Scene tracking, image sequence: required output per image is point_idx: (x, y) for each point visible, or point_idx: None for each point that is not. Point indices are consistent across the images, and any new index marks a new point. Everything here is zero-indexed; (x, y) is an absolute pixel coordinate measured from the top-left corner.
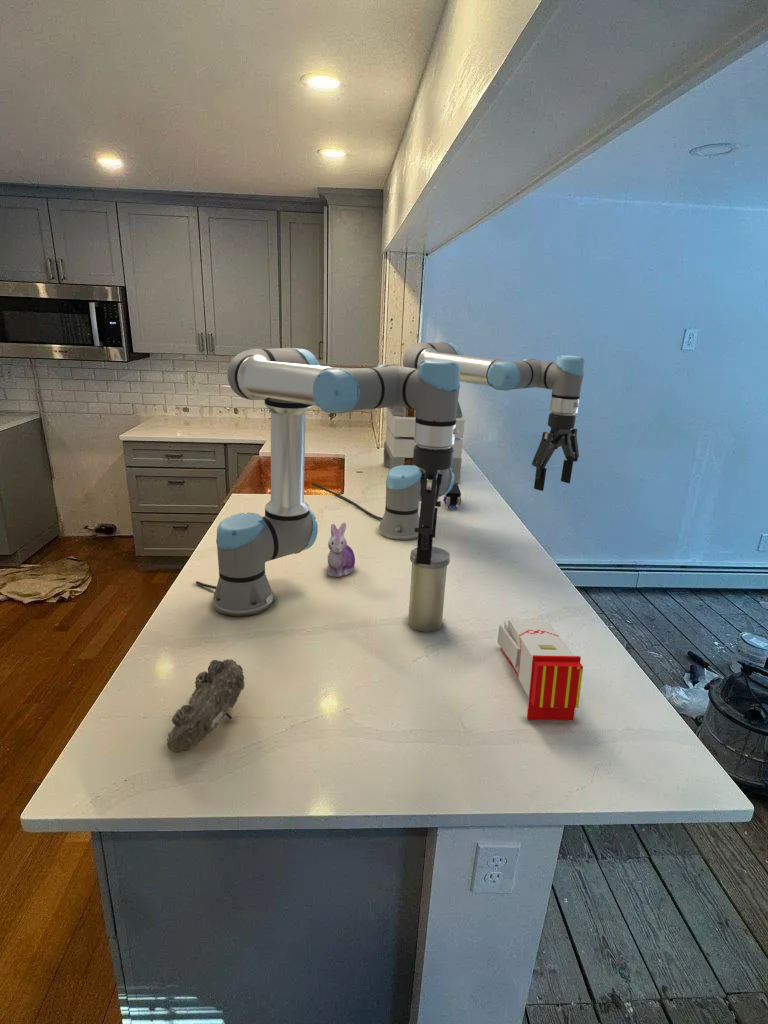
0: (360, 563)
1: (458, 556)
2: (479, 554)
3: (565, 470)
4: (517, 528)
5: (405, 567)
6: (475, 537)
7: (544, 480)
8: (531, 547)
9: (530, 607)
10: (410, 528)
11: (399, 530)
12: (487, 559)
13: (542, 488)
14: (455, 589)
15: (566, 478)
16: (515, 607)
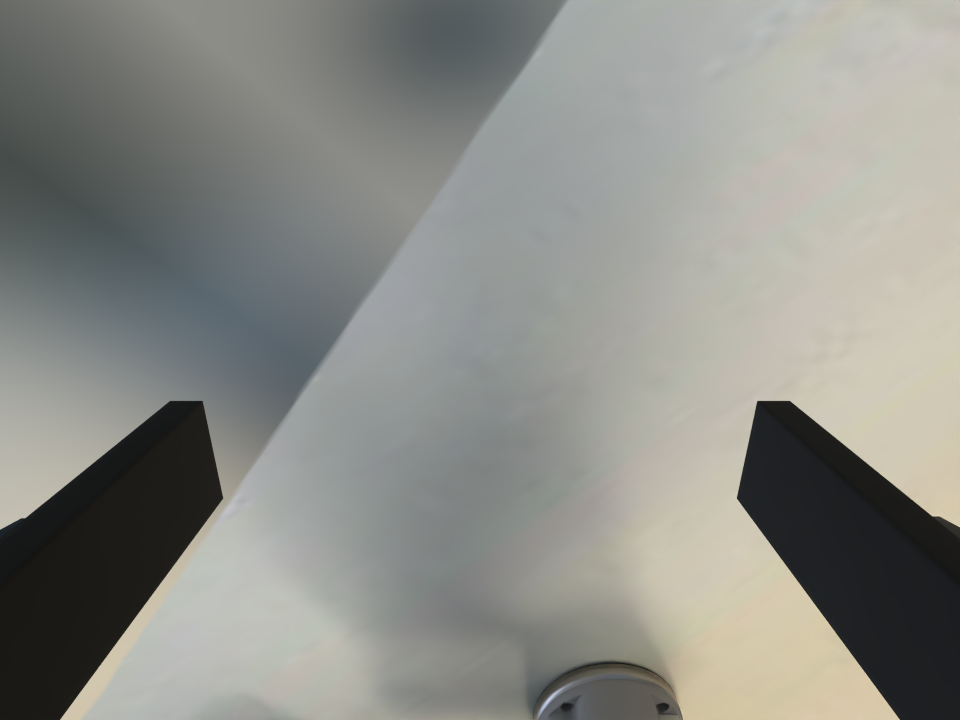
0: None
1: (611, 508)
2: (534, 480)
3: (124, 569)
4: (202, 548)
5: None
6: (421, 575)
7: (850, 474)
8: (301, 412)
9: (797, 70)
10: (638, 706)
11: (658, 715)
12: (547, 438)
13: (802, 414)
14: (857, 348)
15: (181, 465)
16: (840, 111)
